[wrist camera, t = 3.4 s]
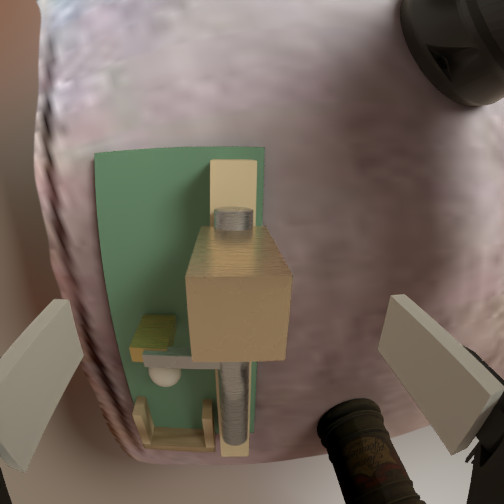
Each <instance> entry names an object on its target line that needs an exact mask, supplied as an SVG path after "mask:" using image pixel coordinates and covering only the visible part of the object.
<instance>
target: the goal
mask: <svg viewBox="0 0 504 504" xmlns="http://www.w3.org/2000/svg"><path fill="white" fill-rule="evenodd" d="M132 416H133V418H134V421H135V424H136V427H137V430H138V432H139V435H140V438H141V440H142V443H143V445H144V448H149V449H159V450H172V451H191V452H215V427H214V416H213V405H212V399H203V408H202V423H203V429H191V428H170V427H156V426H154V424H153V420H152V417H151V414H150V410H149V407H148V403H147V399H146V397H144V396H137V399H136V403H135V406H134V410H133V413H132Z"/></svg>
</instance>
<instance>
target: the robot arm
mask: <svg viewBox="0 0 504 504" xmlns="http://www.w3.org/2000/svg"><path fill="white" fill-rule="evenodd" d="M400 13H401V24H402V29H403V33H404V36H405V39H406V42H407V44H408V46H409V49H410V51H411V53H412V55H413V56H414V58H415V60H416V62H417V63H418V65H419V66H420V68H421V69H422V71H423V72H424V74H425V75H426V76H427V77H428V79H429V80H430V81H431V82H432V83H433V84H434V85H435V86H436V87H437V88H438V89H439V90H440V91H441V92H442V93H443V94H445V95H446V96H447V97H449V98H450V99H452V100H454V101H456V102H458V103H460V104H463V105H467V106H482V105H489V104H492V103H495V102H497V101H498V100H500V99H502V98H503V97H504V0H403V1H402V4H401V12H400ZM377 350H378V351H379V352H380V354H381V355H382V356H383V358H384V359H385V360H386V362H387V363H388V365H389V366H390V367H391V369H392V370H393V372H394V373H395V374H396V376H397V377H398V378H399V380H400V381H401V383H402V384H403V385H404V387H405V388H406V390H407V391H408V392H409V394H410V395H411V397H412V398H413V400H414V401H415V402H416V404H417V405H418V407H419V408H420V410H421V411H422V412H423V414H424V415H425V417H426V418H427V420H428V421H429V423H430V424H431V426H432V427H433V429H434V430H435V431H436V433H437V434H438V436H439V437H440V439H441V440H442V442H443V443H444V445H445V446H446V448H447V449H448V451H449V452H450V454H451V455H454V454H455V453H458V452H460V451H462V450H464V449H466V448H467V447H468V446H469V445H470V443H471V442H472V440H473V439H474V437H475V436H476V437H477V438H478V440H479V442H478V444H477V445H476V446H475V448H474V449H473V450H472V451H471V453H470V454H469V456H468V457H467V458H466V461H465V462H468V461H469V460H470V459H471V458H472V456H473V455H474V460H473V461H472V462H471V463H472V464H473V470H472V477H471V483H470V489H469V494H468V499H467V504H504V380H503V379H502V378H501V377H500V376H499V375H498V374H497V373H496V372H495V371H494V370H493V369H492V368H491V367H488V365H487V364H486V363H485V362H484V361H482V359H481V358H480V357H479V356H478V355H477V354H476V353H475V352H474V351H472V350H470V349H468V348H467V347H465V346H462V345H461V344H460V343H459V342H458V341H457V340H456V339H455V338H454V337H453V336H451V335H450V334H449V333H448V332H447V331H446V330H445V329H444V328H443V327H442V326H440V325H439V324H438V323H437V322H436V321H435V320H434V319H433V318H432V317H430V316H429V315H428V314H427V313H426V312H425V311H424V310H422V309H421V308H420V307H419V306H418V305H417V304H416V303H414V302H413V301H412V300H411V299H410V298H409V297H407V296H406V295H405V294H401V295H390V299H389V304H388V308H387V313H386V317H385V321H384V325H383V329H382V333H381V337H380V341H379V345H378V348H377ZM83 356H84V354H83V351H82V348H81V344H80V341H79V337H78V334H77V330H76V326H75V322H74V318H73V314H72V310H71V306H70V302H69V300H64V299H54V300H53V301H52V302H51V303H50V304H49V305H48V306H47V307H46V308H45V309H44V310H43V311H42V312H41V313H40V314H39V315H38V316H37V318H36V319H35V320H34V321H33V322H32V323H31V324H30V325H29V326H28V327H27V328H26V329H25V331H24V332H23V333H22V334H21V335H20V336H19V337H18V339H17V340H16V341H15V342H14V343H13V344H12V345H11V347H10V348H9V349H8V350H7V351H6V352H5V354H4V355H3V356H2V357H0V457H1V458H2V459H3V461H4V462H5V463H6V464H7V465H8V466H9V467H11V468H14V469H16V470H18V471H21V472H23V473H26V472H27V469H28V467H29V464H30V462H31V459H32V457H33V455H34V453H35V451H36V448H37V446H38V444H39V442H40V439H41V437H42V435H43V433H44V431H45V429H46V427H47V424H48V423H49V420H50V418H51V416H52V414H53V412H54V410H55V408H56V406H57V404H58V402H59V401H60V399H61V397H62V395H63V393H64V391H65V389H66V387H67V385H68V383H69V382H70V380H71V378H72V376H73V374H74V372H75V370H76V369H77V367H78V365H79V363H80V362H81V360H82V358H83ZM0 504H12V502H11V499H10V496H9V493H8V490H7V487H6V484H5V481H4V478H3V475H2V471H1V468H0Z"/></svg>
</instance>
